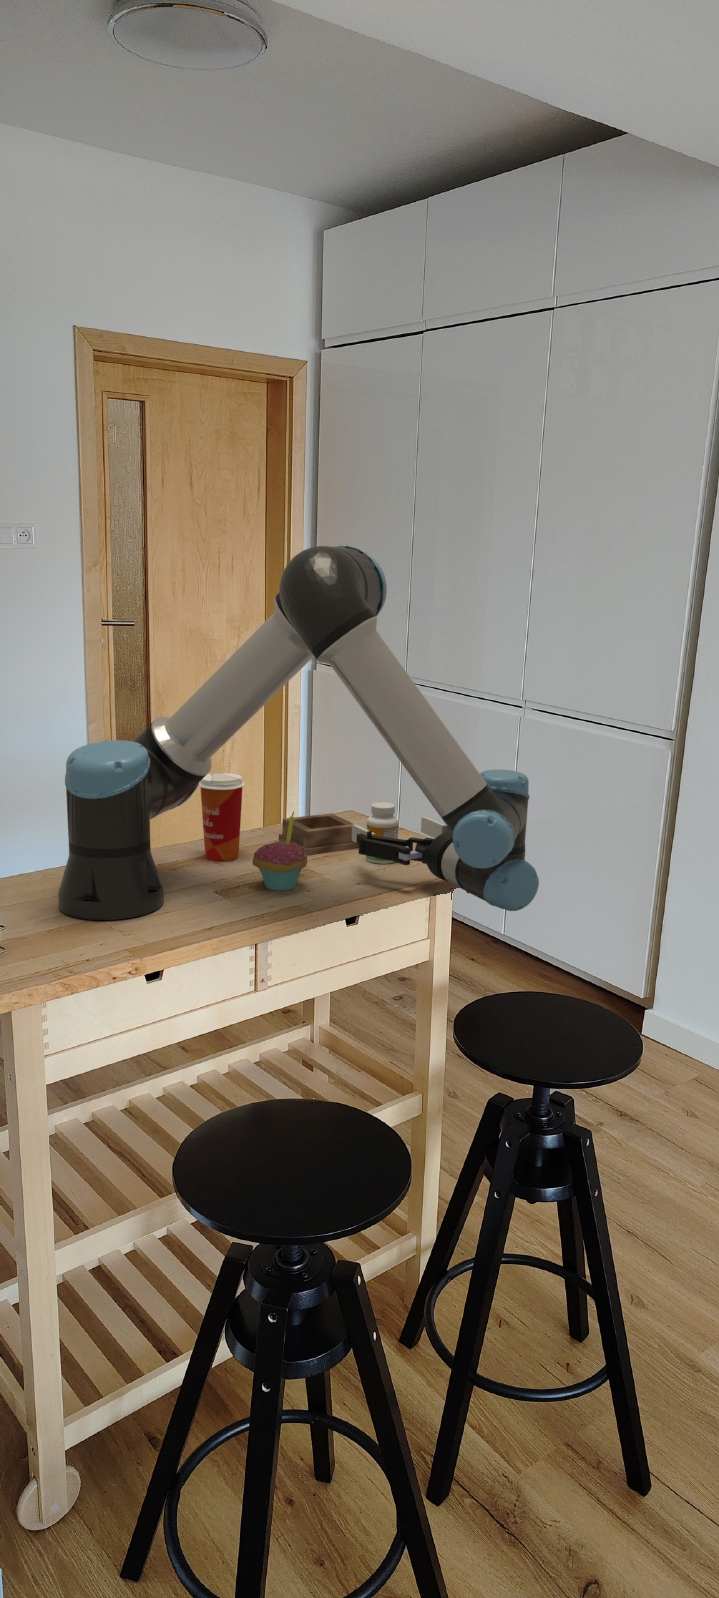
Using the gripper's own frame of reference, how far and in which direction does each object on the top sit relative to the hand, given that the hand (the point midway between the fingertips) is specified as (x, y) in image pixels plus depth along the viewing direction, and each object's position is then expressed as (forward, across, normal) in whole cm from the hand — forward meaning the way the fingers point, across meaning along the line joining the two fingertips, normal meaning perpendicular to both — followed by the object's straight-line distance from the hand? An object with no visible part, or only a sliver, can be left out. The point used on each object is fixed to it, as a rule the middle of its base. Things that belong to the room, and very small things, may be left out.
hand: (388, 828), depth 182 cm
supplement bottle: (+1, 0, -6) cm, 6 cm away
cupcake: (-5, -22, -6) cm, 24 cm away
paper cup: (+14, -25, -6) cm, 29 cm away
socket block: (+15, -6, -6) cm, 17 cm away
